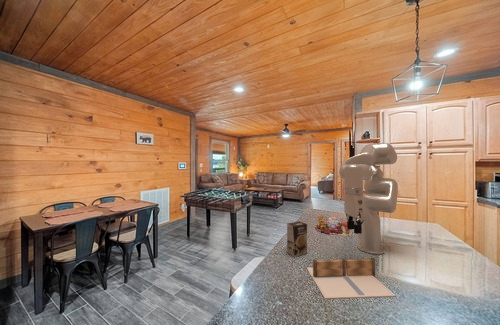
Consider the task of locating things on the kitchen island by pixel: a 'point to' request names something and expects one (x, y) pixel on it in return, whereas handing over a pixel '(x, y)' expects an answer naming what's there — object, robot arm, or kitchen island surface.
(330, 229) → the plate of food
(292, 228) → the coffee box
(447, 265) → the kitchen island surface
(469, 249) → the kitchen island surface
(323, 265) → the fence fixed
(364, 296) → the card
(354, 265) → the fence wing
